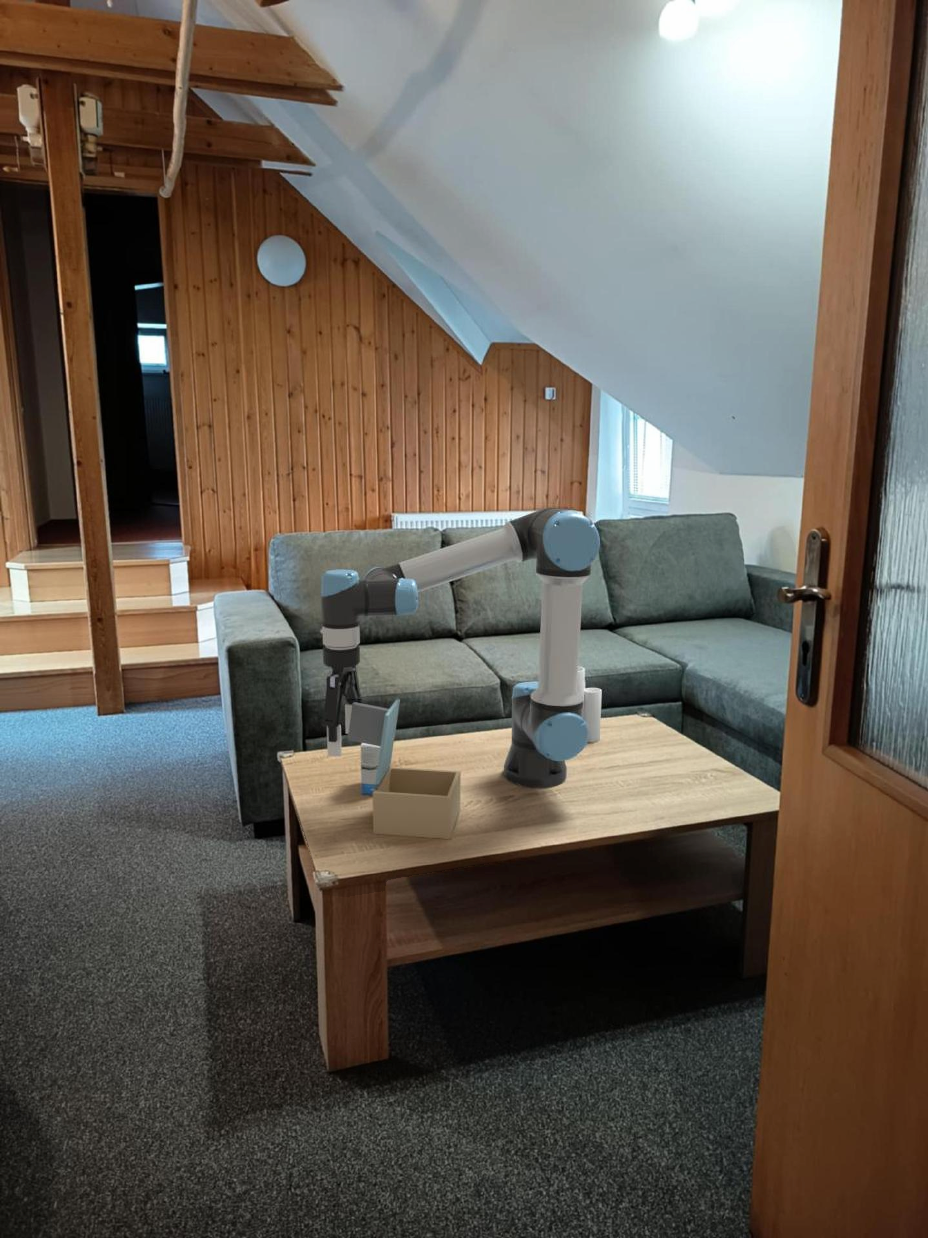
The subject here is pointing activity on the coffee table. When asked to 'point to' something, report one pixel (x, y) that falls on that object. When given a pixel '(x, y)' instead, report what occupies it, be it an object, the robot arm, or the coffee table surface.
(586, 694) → the vase
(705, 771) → the coffee table surface
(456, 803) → the carton
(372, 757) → the ink box
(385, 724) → the lid flap
